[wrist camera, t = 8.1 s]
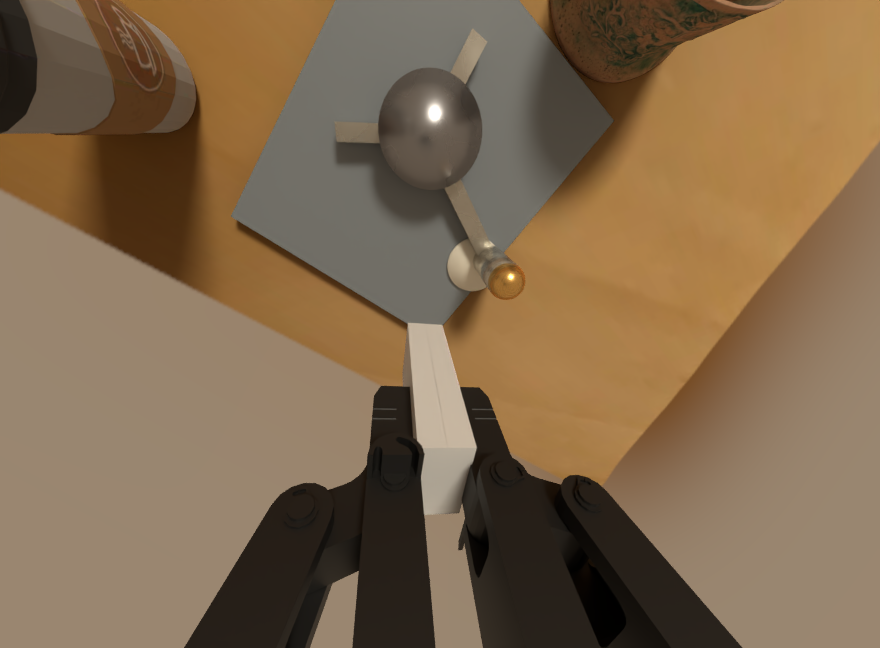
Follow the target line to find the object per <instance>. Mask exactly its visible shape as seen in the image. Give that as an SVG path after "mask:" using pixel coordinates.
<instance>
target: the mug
mask: <svg viewBox="0 0 880 648" xmlns="http://www.w3.org/2000/svg"><path fill="white" fill-rule="evenodd" d="M782 1H784V0H550V3H551V14H552V20H553V26H554V30H555V33H556V36H557V39H558V42H559V44H560V46H561V48H562V50H563V52H564V54H565V56H566V57H567V59H568V60H569V61H570V63H571V64H572V65H573V66H574V67H575V68H576V69H577V70H578V71H579V72H581V73H582V74H583V75H585V76H587V77H589V78H591V79H593V80H596V81H600V82H606V83H615V82H622V81H626V80H630V79H633V78H636V77H638V76H640V75H642V74H644V73H646V72H648V71H649V70H651V69H653V68H654V67H655V66H657V65H658V64H659V63H660V62H662V61H663V60H664V59H665V58H666V57H667V56H668V55H669V54H670V53H671V52H672V51H673V50H674V49H675V48H676V46H678V45H680V44H681V43H683V42H686V41H688V40H693V39H695V38H697V37H699V36H702V35H704V34H707V33H709V32H712V31H714V30H717V29H719V28H721V27H724V26H726V25H729V24H731V23H733V22H735V21H738V20H740V19H744V18H746V17H748V16H751V15H753V14H756V13H759V12H761V11H764V10H766V9H769V8H771V7H774V6H775V5H777V4H779V3H781V2H782Z"/></svg>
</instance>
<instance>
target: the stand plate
mask: <svg viewBox="0 0 880 648" xmlns="http://www.w3.org/2000/svg"><path fill="white" fill-rule="evenodd" d="M472 28H473V29H474V30H475V31H476V32H477V33H478V34H480V35H481V36H482V37H483V38H484V39H485V40H486V41H487V44H486V46H485V47H484V49H483V51H482V53H481V55H480V57H479V59H478V61H477V63H476V65H475V67H474V69H473V71H472V72H471V74H470V76H469V78H468V80H467V82H466V86H467V87H468V88H469V89H470V91H471V92H472V94H473V96H474V97H475V100H476V102H477V104H478V107H479V110H480V114H481V119H482V141H481V146H480V150H479V153H478V156H477V158H476V160H475V162H474V164H473V166H472V167H471V169H470V170H469V171H468V172H467V174H466V175H465V176H464V177H463V178H462V179H461V181H462V183H463V185H464V187H465V189H466V192H467V194H468V196H469V198H470V200H471V202H472V205H473V207H474V209H475V211H476V213H477V215H478V217H479V220H480V222H481V224H482V226H483V228H484V230H485V233H486V235H487V237H488V239H489V241H490V243H491V245H493V246H496V247H498V248H499V249H500V250H501V251H502V252H503V253H504V252H505V250H506V249H507V248H508V247H509V246H510V244H511V243H512V242H513V241H514V240H515V238H516V237H517V236H518V235H519V234H520V232H521V231H522V230H523V229H524V228H525V226H526V225H527V224H528V223H529V222H530V220H531V219H532V218H533V217H534V216H535V215H536V213H537V212H538V211H539V210H540V209H541V207H542V206H543V205H544V204H545V203H546V201H547V200H548V199H549V198H550V197H551V195H552V194H553V193H554V192H555V191H556V189H557V188H558V187H559V186H560V185H561V183H562V182H563V181H564V180H565V179H566V177H567V176H568V175H569V174H570V173H571V172H572V170H573V169H574V168H575V167H576V166H577V164H578V163H579V162H580V161H581V160H582V158H583V157H584V156H585V155H586V154H587V152H588V151H589V150H590V149H591V148H592V146H593V145H594V144H595V143H596V142H597V140H598V139H599V138H600V137H601V136H602V134H603V133H604V132H605V131H606V130H607V129H608V127H609V126H610V125H611V124H612V123H613V121H614V120H613V119H612V117H611V116H610V115H609V114H608V112H607V111H606V110H605V109H604V107H603V106H602V105H601V104H600V102H599V101H598V100H597V98H596V97H595V96H594V95H593V93H592V92H591V91H590V90H589V88H588V87H587V86H586V85H585V83H584V82H583V81H582V79H581V78H580V77H579V76H578V74H577V73H576V72H575V71H574V69H573V68H572V67H571V66H570V64H569V63H568V62H567V60H566V59H565V58H564V57H563V55H562V54H561V53H560V52H559V50H558V49H557V48H556V47H555V45H554V44H553V43H552V41H551V40H550V39H549V38H548V36H547V35H546V34H545V33H544V31H543V30H542V29H541V28H540V26H539V25H538V24H537V23H536V21H535V20H534V19H533V17H532V16H531V15H530V14H529V12H528V11H527V10H526V9H525V7H524V6H523V5H522V4H521V2H520V1H519V0H336V1H335V3H334V5H333V7H332V9H331V11H330V13H329V15H328V17H327V19H326V21H325V23H324V25H323V27H322V29H321V31H320V34H319V36H318V38H317V40H316V42H315V44H314V46H313V48H312V50H311V52H310V54H309V56H308V58H307V60H306V62H305V65H304V67H303V69H302V71H301V73H300V75H299V77H298V79H297V81H296V83H295V85H294V87H293V89H292V91H291V93H290V95H289V98H288V100H287V102H286V104H285V106H284V108H283V110H282V112H281V114H280V116H279V118H278V120H277V122H276V124H275V126H274V128H273V131H272V133H271V135H270V137H269V139H268V141H267V143H266V145H265V147H264V149H263V151H262V153H261V155H260V157H259V159H258V161H257V164H256V166H255V168H254V170H253V172H252V174H251V176H250V178H249V180H248V182H247V184H246V186H245V188H244V190H243V192H242V195H241V197H240V199H239V201H238V203H237V205H236V207H235V209H234V211H233V213H232V215H231V217H233V218H234V219H236V220H237V221H239V222H241V223H242V224H244V225H246V226H247V227H249V228H251V229H252V230H254V231H256V232H257V233H259V234H261V235H262V236H264V237H265V238H267V239H269V240H270V241H272V242H274V243H275V244H277V245H279V246H280V247H282V248H284V249H285V250H287V251H288V252H290V253H292V254H293V255H295V256H297V257H298V258H300V259H302V260H303V261H305V262H307V263H308V264H310V265H312V266H313V267H315V268H316V269H318V270H320V271H321V272H323V273H325V274H326V275H328V276H330V277H331V278H333V279H335V280H336V281H338V282H340V283H341V284H343V285H344V286H346V287H348V288H349V289H351V290H353V291H354V292H356V293H358V294H359V295H361V296H363V297H364V298H366V299H367V300H369V301H371V302H372V303H374V304H376V305H377V306H379V307H381V308H382V309H384V310H386V311H387V312H389V313H391V314H392V315H394V316H395V317H397V318H399V319H400V320H402V321H404V322H405V323H407V324H408V323H421V324H437V325H442V326H443V324H444V323H445V322H446V321H447V320H448V318H449V317H450V316H451V315H452V314H453V312H454V311H455V310H456V309H457V308H458V307H459V305H460V304H461V303H462V302H463V301H464V299H465V298H466V297H467V296H468V295H469V293H470V292H471V291H478V290H481V289H484V288H486V287H487V286H486V285H485V283H484V282H483V280H482V279H481V277H480V276H479V274H478V273H477V271H476V270H475V268H474V266H473V258H474V255H475V251H474V249H473V247H472V245H471V243H470V241H469V239H468V237H467V235H466V233H465V231H464V229H463V227H462V225H461V223H460V221H459V219H458V217H457V215H456V213H455V211H454V209H453V207H452V205H451V203H450V201H449V199H448V197H447V195H446V193H445V191H444V189H438V190H424V189H420V188H417V187H414V186H412V185H410V184H408V183H406V182H405V181H403V180H402V179H401V178H400V177H399V176H398V175H396V174H395V172H394V171H393V170H392V169H391V167H390V166H389V164H388V163H387V161H386V159H385V157H384V155H383V152H382V149H381V146H380V144H374V143H342V142H337V140H336V131H335V122H361V123H378V121H379V114H380V109H381V106H382V103H383V101H384V98H385V96H386V94H387V93H388V91H389V90H390V88H391V87H392V86H393V84H394V83H395V82H396V81H397V80H398V79H400V78H401V77H402V76H403V75H405V74H407V73H409V72H411V71H413V70H416V69H420V68H439V69H442V70H445V71H448V72H451V70H452V68H453V66H454V64H455V62H456V60H457V58H458V56H459V54H460V52H461V50H462V48H463V46H464V44H465V42H466V40H467V37H468V35H469V34H470V32H471V30H472ZM334 121H335V122H334Z"/></svg>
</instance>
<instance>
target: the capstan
mask: <svg viewBox="0 0 880 648" xmlns="http://www.w3.org/2000/svg"><path fill="white" fill-rule="evenodd" d="M486 44H487V41H486V40H485V39H484V38H483V37H482V36H481V35H480V34H478V33H477V32H476V31H475V30H474V29H473V28H472V30H471V32H470V34H469V35H468V37H467V40H466V42H465V44H464V46H463V48H462V50H461V52H460V54H459V56H458V58H457V60H456V62H455V64H454V66H453V68H452V70H451V72H448V71H445V70H442V69H439V68H420V69H416V70H413V71H411V72H409V73H407V74H405V75H403V76H402V77H401V78H400V79H398V80H397V81H396V82H395V83H394V84H393V86H392V87H391V88H390V90H389V91H388V93H387V94H386V96H385V98H384V101H383V103H382V106H381V109H380V114H379V121H378V123H361V122H335V121H334V122H335V131H336V140H337V142H342V143H374V144H380V146H381V149H382V152H383V155H384V157H385V159H386V161H387V163H388V164H389V166H390V167H391V169H392V170H393V171H394V172H395V174H396V175H398V176H399V177H400V178H401V179H402V180H403V181H405V182H406V183H408V184H410V185H412V186H414V187H417V188H420V189H424V190H438V189H444V191H445V193H446V195H447V197H448V199H449V201H450V203H451V205H452V207H453V209H454V211H455V213H456V215H457V217H458V219H459V221H460V223H461V225H462V227H463V229H464V231H465V233H466V235H467V237H468V239H469V241H470V243H471V245H472V247H473V249H474V251H475V255H474V258H473V266H474V268H475V270H476V271H477V273H478V274H479V276H480V277H481V279H482V280H483V282H484V283H485V285H486V286H487V287H488V289H489V290H490V292H491V293H492V294H493V295H494V296H495V297H497V298H499V299H503V300H509V299H513V298H515V297H517V296H518V295H519V294H520V293H521V292H522V291H523V289H524V286H525V275H524V272H523V271H522V269H521V268H520V267H519V266H518V265H517V264H516V263H514V262H513V261H512V260H511V259H510V258H509V257H508V256H507V255H506V254H504V253H503V252H502V251H501V250H500V249H499V248H498V247H496V246H493V245H491V243H490V241H489V239H488V237H487V235H486V233H485V230H484V228H483V226H482V224H481V222H480V220H479V217H478V215H477V213H476V211H475V209H474V207H473V205H472V202H471V200H470V198H469V196H468V194H467V192H466V189H465V187H464V185H463V183H462V181H461V179H462V178H463V177H464V176H465V175H466V174H467V172H468V171H469V170H470V169H471V167H472V166H473V164H474V162H475V160H476V158H477V156H478V153H479V150H480V146H481V141H482V119H481V114H480V110H479V107H478V104H477V102H476V100H475V97H474V96H473V94H472V92H471V91H470V89H469V88H468V87H467V86H466V82H467V80H468V78H469V76H470V74H471V72H472V71H473V69H474V67H475V65H476V63H477V61H478V59H479V57H480V55H481V53H482V51H483V49H484V47H485V46H486Z"/></svg>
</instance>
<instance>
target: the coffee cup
mask: <svg viewBox="0 0 880 648" xmlns="http://www.w3.org/2000/svg"><path fill="white" fill-rule="evenodd" d="M195 103H196V88H195V84H194V80H193V77H192V73H191V71H190V69H189V67H188V65H187V63H186V61H185V59H184V57H183V55H182V54H181V52H180V51H179V50H178V49H177V47H176V46H175V45H174V43H173V42H172V41H171V40H170V39H169V38H168V37H167V36H166V35H165V34H164V33H163V32H162V31H160V30H159V29H158V28H157V27H156V26H154V25H153V24H151V23H149V22H148V21H146V20H145V19H143V18H142V17H140V16H139V15H137V14H136V13H134V12H133V11H131V10H130V9H129V8H128V7H127V6H125V5H124V4H123V3H122V2H121V1H119V0H0V133H51V134H55V135H114V134H140V133H169V132H172V131H175V130H178V129H180V128H181V127H182V126H184V125H185V124H186V123H187V122H188V121H189V119H190V117H191V116H192V114H193V112H194V108H195Z"/></svg>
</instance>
